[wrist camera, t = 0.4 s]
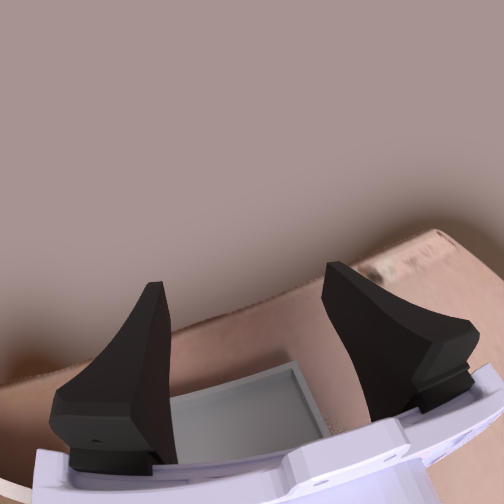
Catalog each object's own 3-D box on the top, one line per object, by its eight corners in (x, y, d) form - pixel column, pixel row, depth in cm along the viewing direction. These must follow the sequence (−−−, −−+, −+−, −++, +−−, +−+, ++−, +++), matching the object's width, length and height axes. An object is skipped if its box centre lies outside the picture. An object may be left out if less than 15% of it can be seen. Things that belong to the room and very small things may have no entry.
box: (363, 517, 18) (371, 518, 16) (195, 565, 15) (186, 570, 13) (295, 372, 31) (295, 359, 29) (154, 413, 28) (143, 403, 26)
